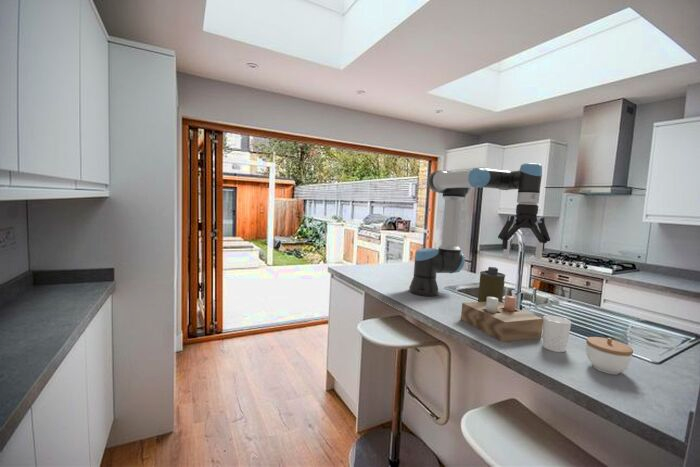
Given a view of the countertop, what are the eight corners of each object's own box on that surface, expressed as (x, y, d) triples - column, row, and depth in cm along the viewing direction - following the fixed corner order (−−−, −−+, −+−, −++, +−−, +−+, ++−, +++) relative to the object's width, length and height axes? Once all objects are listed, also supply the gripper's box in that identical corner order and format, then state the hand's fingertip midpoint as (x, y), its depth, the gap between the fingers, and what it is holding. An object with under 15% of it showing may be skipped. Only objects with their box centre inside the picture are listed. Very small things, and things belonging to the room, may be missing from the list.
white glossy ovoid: (483, 312, 124) (484, 296, 124) (491, 311, 125) (492, 296, 125) (490, 315, 120) (492, 299, 120) (499, 315, 122) (500, 299, 121)
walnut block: (460, 319, 132) (462, 302, 132) (495, 316, 138) (496, 300, 138) (503, 341, 112) (505, 322, 111) (541, 337, 118) (543, 318, 117)
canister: (505, 315, 140) (510, 270, 139) (481, 314, 141) (486, 269, 139) (495, 308, 151) (499, 265, 150) (472, 306, 151) (476, 264, 150)
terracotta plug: (501, 310, 127) (502, 295, 127) (509, 310, 129) (510, 295, 128) (509, 314, 123) (511, 298, 123) (517, 313, 125) (518, 298, 124)
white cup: (540, 341, 114) (543, 313, 114) (567, 347, 110) (570, 318, 110) (540, 348, 108) (543, 319, 107) (568, 355, 104) (572, 325, 103)
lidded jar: (580, 367, 96) (584, 337, 95) (587, 357, 103) (590, 328, 102) (627, 383, 88) (632, 350, 87) (631, 370, 96) (635, 340, 95)
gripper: (502, 202, 121) (497, 258, 122) (564, 206, 123) (558, 261, 125) (491, 202, 128) (486, 255, 130) (550, 205, 131) (544, 257, 132)
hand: (522, 258), depth 127 cm, fingers open, 13 cm apart
